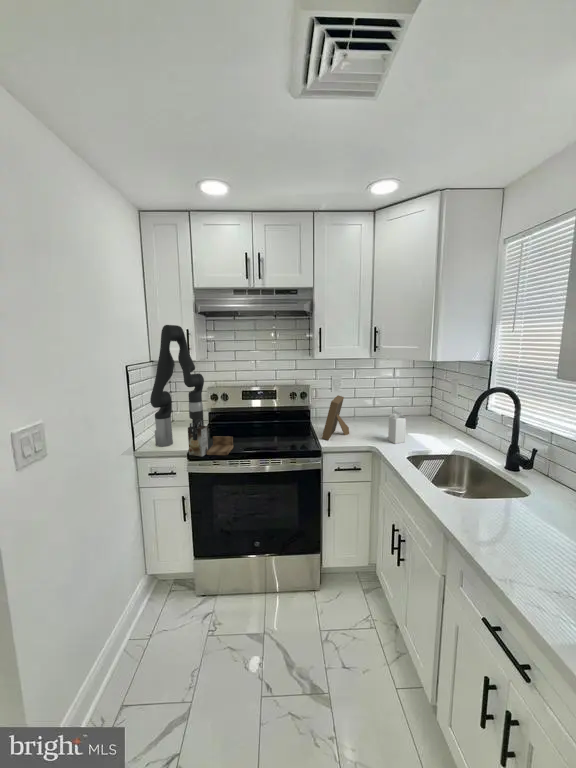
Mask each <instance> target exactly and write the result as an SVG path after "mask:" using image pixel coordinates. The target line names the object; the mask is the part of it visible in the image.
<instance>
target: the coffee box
mask: <svg viewBox="0 0 576 768" xmlns="http://www.w3.org/2000/svg"><path fill="white" fill-rule="evenodd" d="M195 431H196V430H195ZM208 439H209V438H208V425H204V426H201V425H200V426H199V428H198V429H197V440H193V434H191V433H190V426H189V427H187V441H188V442H187V443H188V455H189V456H197V457H204V456H205V455H207V450H208V449H209V443H208V441H209V440H208Z"/></svg>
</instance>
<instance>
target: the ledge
mask: <svg viewBox="0 0 576 768" xmlns="http://www.w3.org/2000/svg"><path fill="white" fill-rule="evenodd" d="M233 449H234V436H229V435H227V436H223V435H222V436H221V435H220V436H217V435H216V436H215V435H214V436H212V445H211V446H210V447H208V450H207V454H206V455H208V456H228V455H229V453H231V451H232V450H233Z"/></svg>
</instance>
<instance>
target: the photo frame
mask: <svg viewBox="0 0 576 768" xmlns="http://www.w3.org/2000/svg"><path fill="white" fill-rule="evenodd" d="M344 399H345V397H344V396H342V395H336V396H335V397H334V398H333V399H332V400H331V401H330V404H329V409H328V413H327V416H326V421H325V424H324V428H323V432H322V436H321V439H323V440H326V441H329V440H330V439H331V437H332V436H333V435H334V434H335V432H336V430H337V426H338V423H339V426H340V428H341V431H342V432H343V435H344V436H348V435H350V429H349V428H350V427H349V426H348V425H347V423H345V421H344V420H343V418H341V416H340V413H341V411H342V407H343V402H344Z"/></svg>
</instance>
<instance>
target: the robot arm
mask: <svg viewBox="0 0 576 768" xmlns="http://www.w3.org/2000/svg"><path fill="white" fill-rule="evenodd" d="M171 342H176V343H177V345H178V346H179V349H178V356H177V357H178V362H179V365H180V368H181V370H182V375H183V383H184V385H185V386H186V387H188V388H194V389H192V390H190V391H189V392H188V414H189V419H190V420H191V422H190V423H189V427H190V433H191V434H193V440H197V429H198V428H199V426H200V425H201V426H205V423H204V405H203V397H202V394H203V389H204V383H205V377H204V376H203V375H202V374H201V373H193V372H194V371H195V370H196V366H195V363H194V361H193V358H192V357H191V354H190V351H189V347H188V343H187V339H186V335H185V332H184V329H183V328H182V326H180V325H173V324H165V325H164V326H162V329H161V333H160V345H159V346H160V348H159V354H158V355H159V356H158V361H157V365H156V373H155V377H154V383H153V387H152V391H151V394H150V402H149V403H150V405H151V406H152V408H154V409H158V408H159V409H158V410H157V412H155V413H154V422H155V430H154V441H155V446H157V445H158V446H157V447H168V446H171V445H173V443H174V441H173V440H174V439H173V427H172V410H173V409H172V406H173V405H172V403H173V402H172V397H171V396H172V395H171V394H170V392H169V391H166V390H164V389H165V387H166V385H167V383H168V382H169V381H170V379H171V378H172V376H173V373H174V369H175V360H174V358H173V355H172V352H171V349H170V348H171ZM191 373H192V374H191ZM195 430H196V431H195Z"/></svg>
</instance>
